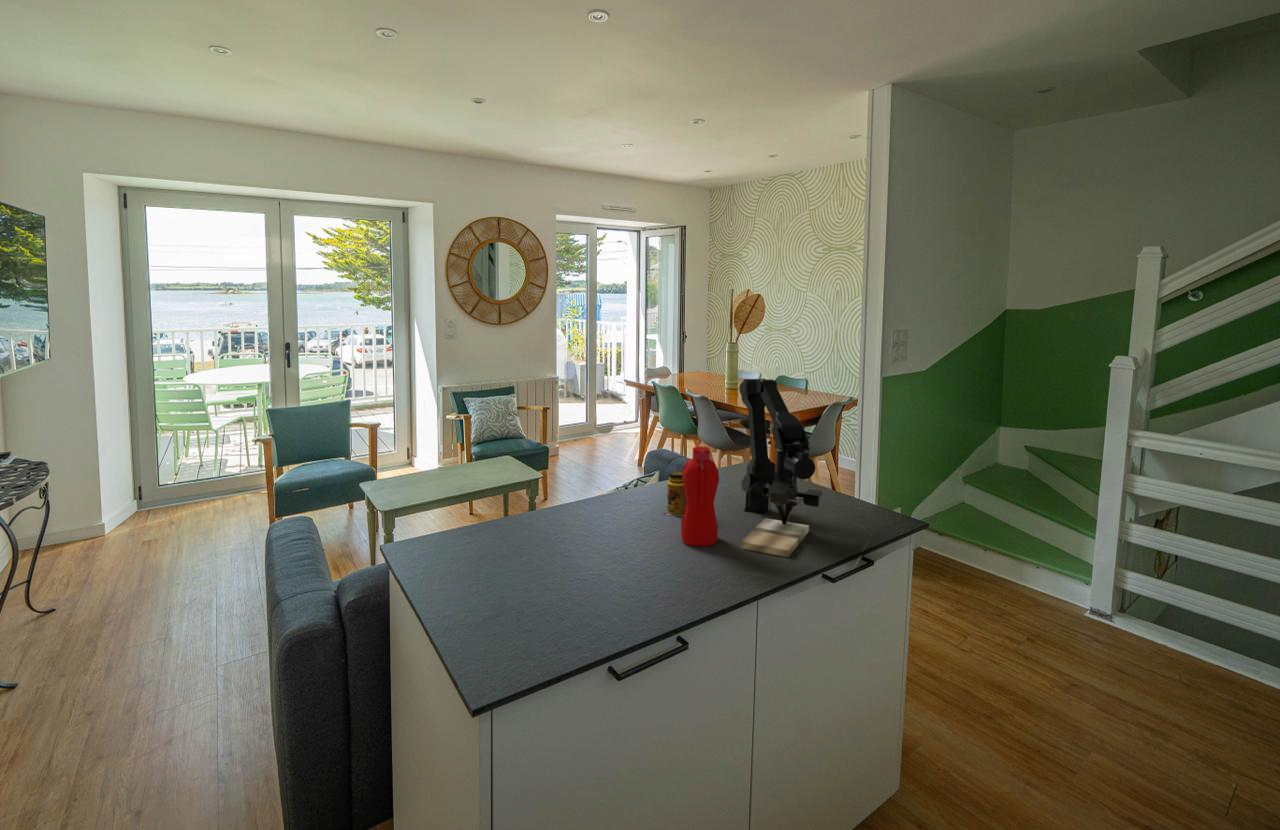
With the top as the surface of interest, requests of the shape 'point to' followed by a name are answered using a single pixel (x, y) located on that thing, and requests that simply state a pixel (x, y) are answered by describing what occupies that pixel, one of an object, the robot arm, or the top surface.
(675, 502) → the condiment
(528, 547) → the top surface
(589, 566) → the top surface
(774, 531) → the plank
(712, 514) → the water bottle
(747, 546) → the floor board
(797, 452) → the robot arm
